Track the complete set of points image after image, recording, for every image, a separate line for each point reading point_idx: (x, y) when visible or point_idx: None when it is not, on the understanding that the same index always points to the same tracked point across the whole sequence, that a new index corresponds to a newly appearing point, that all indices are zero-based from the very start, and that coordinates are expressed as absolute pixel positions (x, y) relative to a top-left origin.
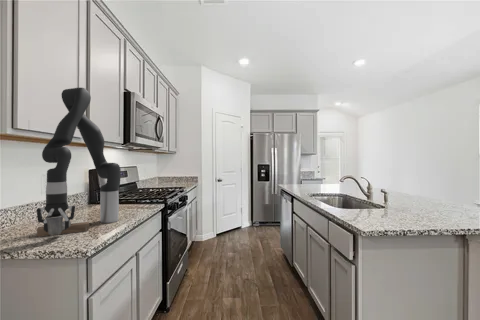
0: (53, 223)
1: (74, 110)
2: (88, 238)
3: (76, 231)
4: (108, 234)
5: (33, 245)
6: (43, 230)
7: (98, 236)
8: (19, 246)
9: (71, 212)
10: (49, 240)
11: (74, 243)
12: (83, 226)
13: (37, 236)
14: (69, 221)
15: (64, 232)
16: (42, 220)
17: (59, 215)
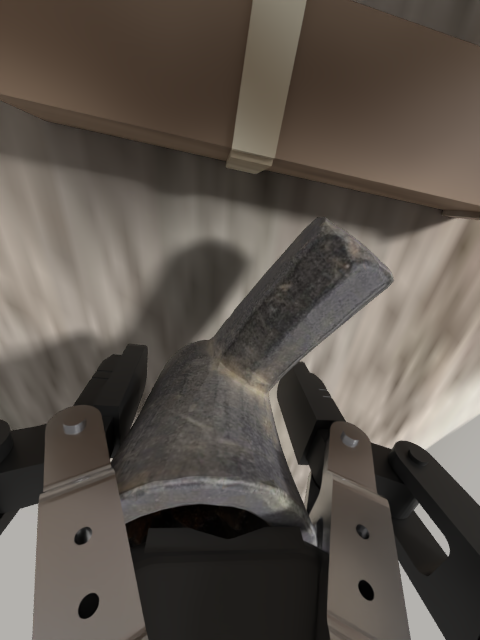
0: (184, 524)
1: None
2: (364, 414)
3: (383, 195)
4: (469, 398)
5: None
6: (79, 116)
7: (416, 406)
8: (4, 366)
9: (439, 617)
10: (173, 333)
11: (285, 455)
12: (471, 207)
13: (49, 120)
14: (377, 295)
15: (291, 173)
16: (26, 497)
17: (266, 521)
